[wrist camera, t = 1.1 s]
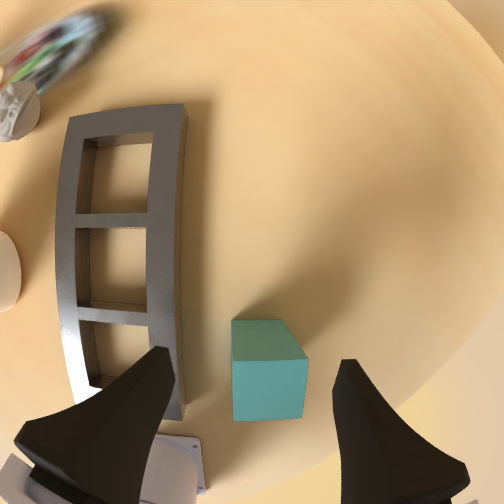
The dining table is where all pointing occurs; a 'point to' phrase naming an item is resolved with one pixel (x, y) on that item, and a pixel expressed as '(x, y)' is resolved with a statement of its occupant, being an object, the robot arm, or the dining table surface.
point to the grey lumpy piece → (18, 110)
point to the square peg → (266, 371)
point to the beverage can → (9, 273)
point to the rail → (154, 221)
